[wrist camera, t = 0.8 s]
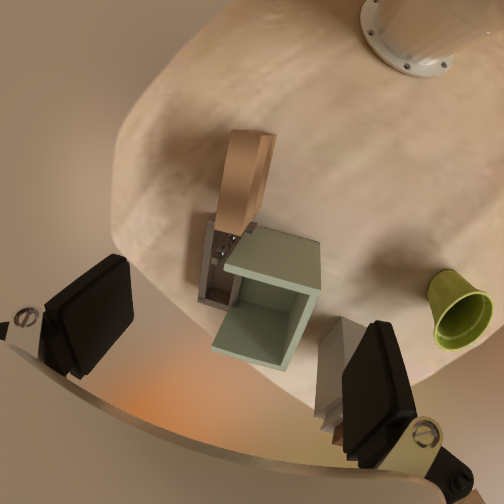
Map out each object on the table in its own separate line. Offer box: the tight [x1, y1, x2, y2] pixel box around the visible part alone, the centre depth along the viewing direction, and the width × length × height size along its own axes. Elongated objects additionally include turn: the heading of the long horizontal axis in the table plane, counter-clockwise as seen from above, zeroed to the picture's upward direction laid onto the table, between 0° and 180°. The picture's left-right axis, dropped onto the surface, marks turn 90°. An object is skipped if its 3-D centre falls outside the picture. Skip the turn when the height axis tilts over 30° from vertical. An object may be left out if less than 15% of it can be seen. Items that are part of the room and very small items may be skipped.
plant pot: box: [427, 270, 494, 351], centre depth 28 cm, size 9×9×9 cm
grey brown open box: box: [198, 213, 257, 311], centre depth 32 cm, size 13×6×11 cm, turn 169°
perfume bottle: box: [314, 317, 367, 446], centre depth 31 cm, size 7×7×18 cm
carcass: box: [211, 225, 321, 372], centre depth 32 cm, size 12×9×11 cm
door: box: [214, 130, 277, 236], centre depth 27 cm, size 9×3×10 cm, turn 169°
